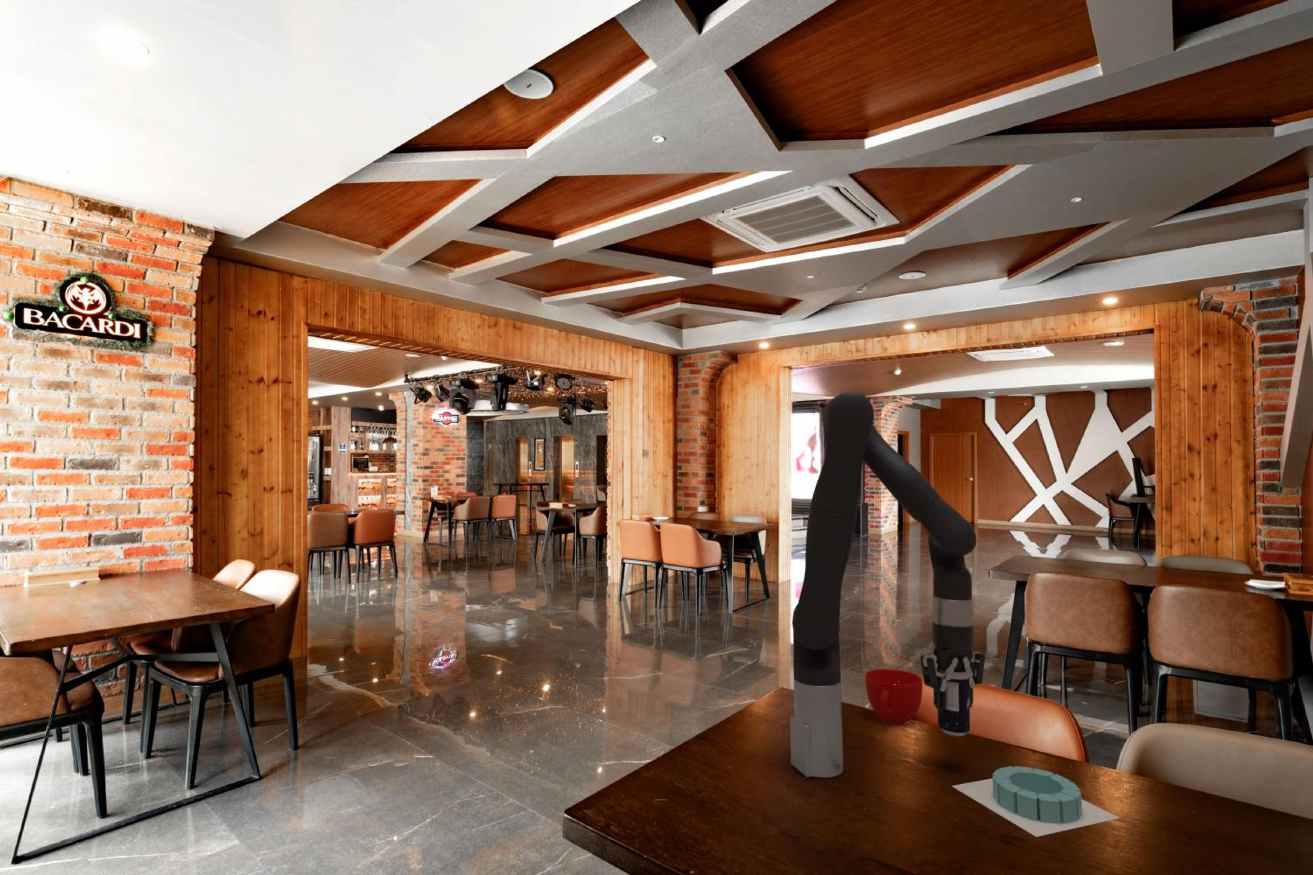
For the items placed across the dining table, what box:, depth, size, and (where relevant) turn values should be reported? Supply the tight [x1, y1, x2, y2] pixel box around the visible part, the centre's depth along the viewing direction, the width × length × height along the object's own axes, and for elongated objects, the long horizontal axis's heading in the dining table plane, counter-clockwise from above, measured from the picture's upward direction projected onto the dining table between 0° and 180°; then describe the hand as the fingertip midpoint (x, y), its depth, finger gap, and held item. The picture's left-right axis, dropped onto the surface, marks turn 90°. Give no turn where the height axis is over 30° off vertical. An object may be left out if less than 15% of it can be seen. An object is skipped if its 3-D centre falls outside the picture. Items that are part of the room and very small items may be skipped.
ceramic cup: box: [864, 668, 924, 725], centre depth 153 cm, size 13×17×10 cm
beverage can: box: [937, 669, 971, 737], centre depth 127 cm, size 6×6×12 cm
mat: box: [951, 777, 1120, 838], centre depth 113 cm, size 18×18×1 cm
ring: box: [992, 765, 1082, 824], centre depth 112 cm, size 13×13×4 cm
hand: (953, 707), depth 127 cm, fingers closed on beverage can, 5 cm apart
